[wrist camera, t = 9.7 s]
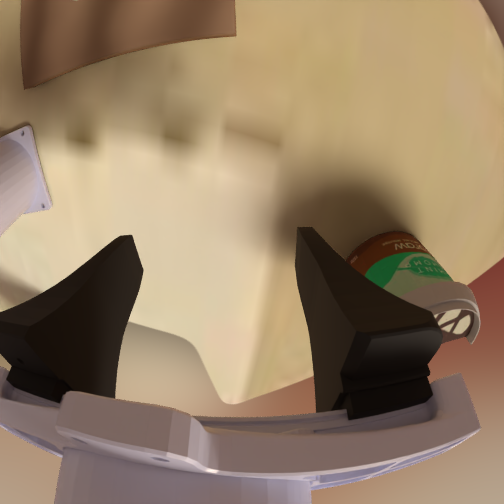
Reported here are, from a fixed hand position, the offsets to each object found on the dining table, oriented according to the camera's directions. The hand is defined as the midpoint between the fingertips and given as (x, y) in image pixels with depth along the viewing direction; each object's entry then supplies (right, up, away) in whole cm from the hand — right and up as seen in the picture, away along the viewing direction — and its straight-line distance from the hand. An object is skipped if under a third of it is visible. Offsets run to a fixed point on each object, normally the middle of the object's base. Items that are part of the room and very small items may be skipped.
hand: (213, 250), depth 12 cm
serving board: (-8, +20, -3) cm, 21 cm away
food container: (+14, 0, +12) cm, 19 cm away
